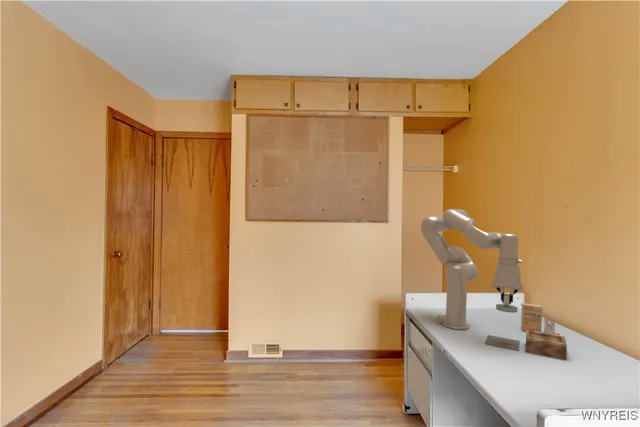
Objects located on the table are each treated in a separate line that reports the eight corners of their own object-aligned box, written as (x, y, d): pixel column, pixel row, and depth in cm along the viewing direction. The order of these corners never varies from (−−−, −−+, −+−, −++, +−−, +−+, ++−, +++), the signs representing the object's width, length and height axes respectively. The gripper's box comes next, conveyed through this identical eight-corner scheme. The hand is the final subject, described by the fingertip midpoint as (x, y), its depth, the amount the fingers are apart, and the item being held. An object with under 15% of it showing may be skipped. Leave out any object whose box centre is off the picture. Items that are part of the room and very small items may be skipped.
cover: (496, 306, 163) (497, 292, 163) (517, 309, 159) (518, 294, 159) (495, 310, 156) (495, 295, 156) (517, 313, 152) (517, 298, 152)
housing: (525, 351, 148) (526, 337, 148) (525, 343, 159) (526, 329, 159) (566, 360, 141) (566, 344, 141) (563, 350, 151) (564, 336, 151)
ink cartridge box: (549, 336, 169) (549, 316, 169) (559, 345, 158) (560, 323, 158) (543, 336, 170) (544, 315, 170) (553, 344, 159) (554, 322, 159)
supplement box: (522, 331, 176) (523, 304, 176) (520, 328, 180) (521, 302, 180) (541, 333, 173) (542, 306, 173) (539, 330, 177) (540, 304, 177)
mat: (484, 344, 156) (484, 343, 156) (487, 335, 167) (487, 334, 167) (518, 350, 149) (518, 349, 149) (519, 341, 160) (519, 340, 160)
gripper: (528, 262, 157) (527, 304, 157) (489, 259, 165) (487, 299, 165) (528, 264, 150) (527, 307, 150) (487, 260, 158) (486, 302, 158)
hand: (506, 302), depth 157 cm, fingers closed on cover
